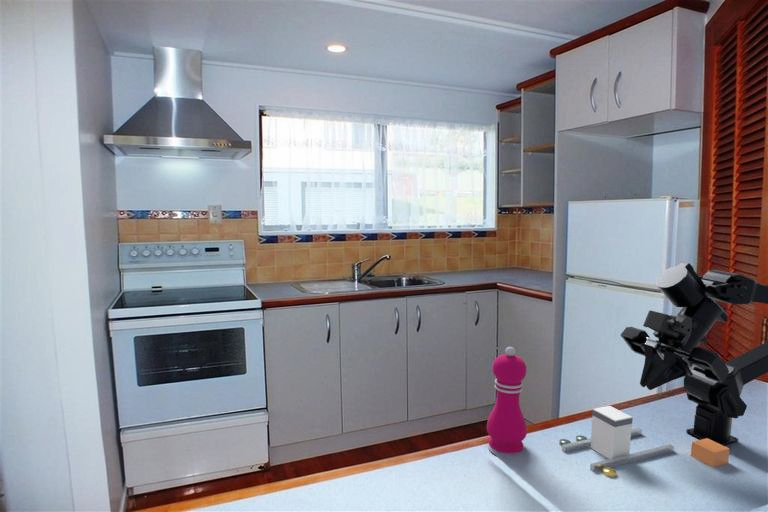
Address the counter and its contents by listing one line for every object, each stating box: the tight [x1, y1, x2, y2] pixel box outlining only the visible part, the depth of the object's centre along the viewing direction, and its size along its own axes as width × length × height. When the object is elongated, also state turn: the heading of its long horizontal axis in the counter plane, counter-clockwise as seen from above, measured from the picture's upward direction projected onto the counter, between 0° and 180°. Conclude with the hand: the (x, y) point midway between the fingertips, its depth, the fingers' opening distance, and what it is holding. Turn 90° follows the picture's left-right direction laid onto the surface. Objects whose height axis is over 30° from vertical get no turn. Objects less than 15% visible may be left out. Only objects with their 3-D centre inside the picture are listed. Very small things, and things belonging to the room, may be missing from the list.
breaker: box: [589, 405, 633, 460], centre depth 89 cm, size 4×5×8 cm
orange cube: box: [690, 438, 730, 468], centre depth 87 cm, size 4×4×4 cm
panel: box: [558, 427, 675, 478], centre depth 90 cm, size 20×14×2 cm
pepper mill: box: [486, 346, 528, 458], centre depth 90 cm, size 7×7×20 cm
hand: (644, 387), depth 91 cm, fingers closed
